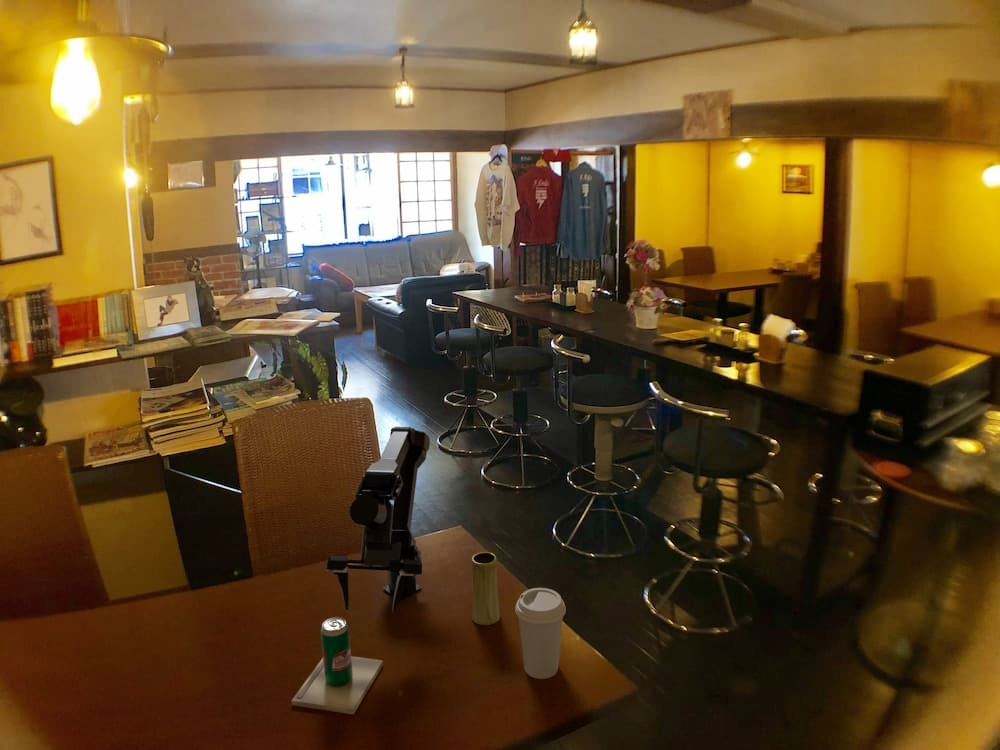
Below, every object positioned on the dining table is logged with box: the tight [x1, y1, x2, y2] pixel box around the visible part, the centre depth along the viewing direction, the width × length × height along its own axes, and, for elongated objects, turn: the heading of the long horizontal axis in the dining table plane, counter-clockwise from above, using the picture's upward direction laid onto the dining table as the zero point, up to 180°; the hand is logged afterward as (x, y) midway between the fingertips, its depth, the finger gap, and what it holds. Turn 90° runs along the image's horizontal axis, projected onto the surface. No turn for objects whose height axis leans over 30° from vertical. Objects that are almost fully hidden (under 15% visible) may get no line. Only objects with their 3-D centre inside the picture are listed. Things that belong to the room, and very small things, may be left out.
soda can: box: [320, 616, 353, 687], centre depth 137 cm, size 5×5×12 cm
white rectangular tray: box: [291, 655, 384, 715], centre depth 138 cm, size 14×12×1 cm
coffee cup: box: [514, 587, 567, 680], centre depth 140 cm, size 10×10×15 cm
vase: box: [471, 551, 501, 626], centre depth 157 cm, size 6×6×14 cm
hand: (370, 610), depth 145 cm, fingers open, 9 cm apart
